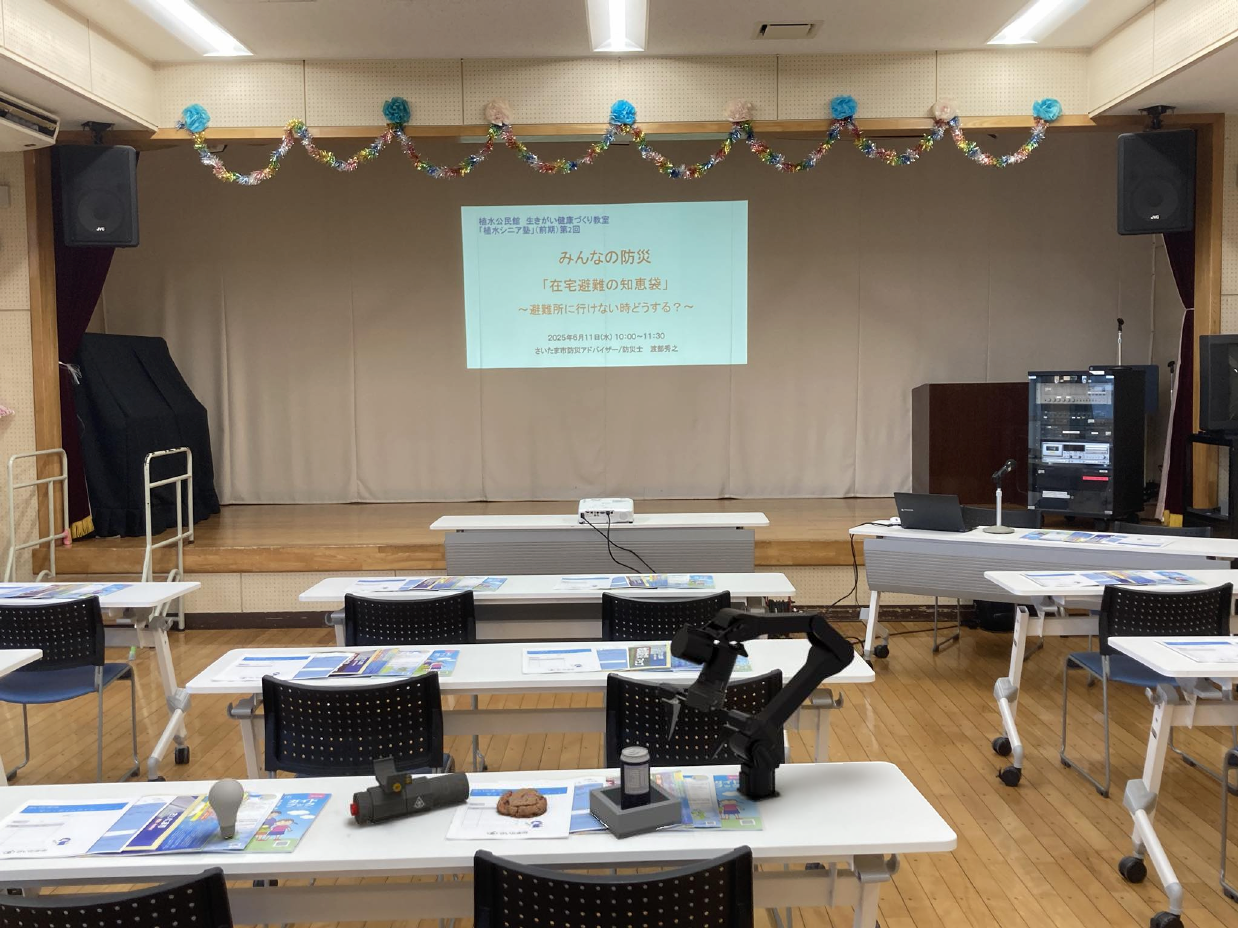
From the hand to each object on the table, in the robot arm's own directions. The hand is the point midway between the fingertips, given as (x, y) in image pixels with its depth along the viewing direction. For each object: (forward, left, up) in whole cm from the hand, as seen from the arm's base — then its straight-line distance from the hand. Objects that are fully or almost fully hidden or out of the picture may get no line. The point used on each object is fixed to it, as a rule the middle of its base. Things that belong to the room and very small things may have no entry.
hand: (689, 749), depth 186 cm
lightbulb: (+82, -29, -12) cm, 87 cm away
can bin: (+12, -1, -12) cm, 16 cm away
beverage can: (+11, -1, -11) cm, 16 cm away
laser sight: (+49, -24, -12) cm, 56 cm away
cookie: (+29, -16, -12) cm, 35 cm away
